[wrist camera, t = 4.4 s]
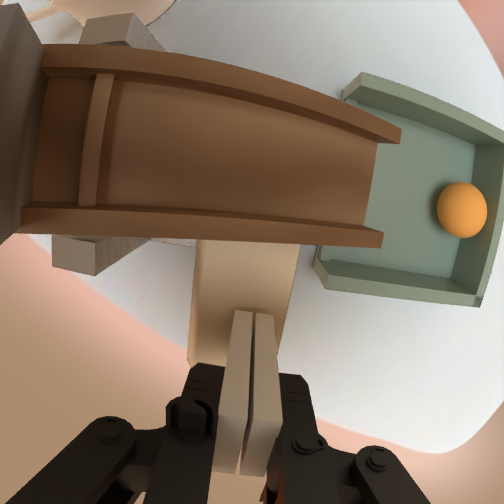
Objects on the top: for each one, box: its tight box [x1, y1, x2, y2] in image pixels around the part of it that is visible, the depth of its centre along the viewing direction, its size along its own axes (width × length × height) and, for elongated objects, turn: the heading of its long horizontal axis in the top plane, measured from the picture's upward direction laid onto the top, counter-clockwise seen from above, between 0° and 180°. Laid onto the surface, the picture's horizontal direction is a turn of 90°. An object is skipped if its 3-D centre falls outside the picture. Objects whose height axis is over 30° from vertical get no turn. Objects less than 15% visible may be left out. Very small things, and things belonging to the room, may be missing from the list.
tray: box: [313, 72, 504, 308], centre depth 17 cm, size 12×11×4 cm
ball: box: [437, 182, 487, 238], centre depth 16 cm, size 4×4×4 cm
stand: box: [52, 13, 198, 276], centre depth 13 cm, size 11×6×10 cm, turn 171°
